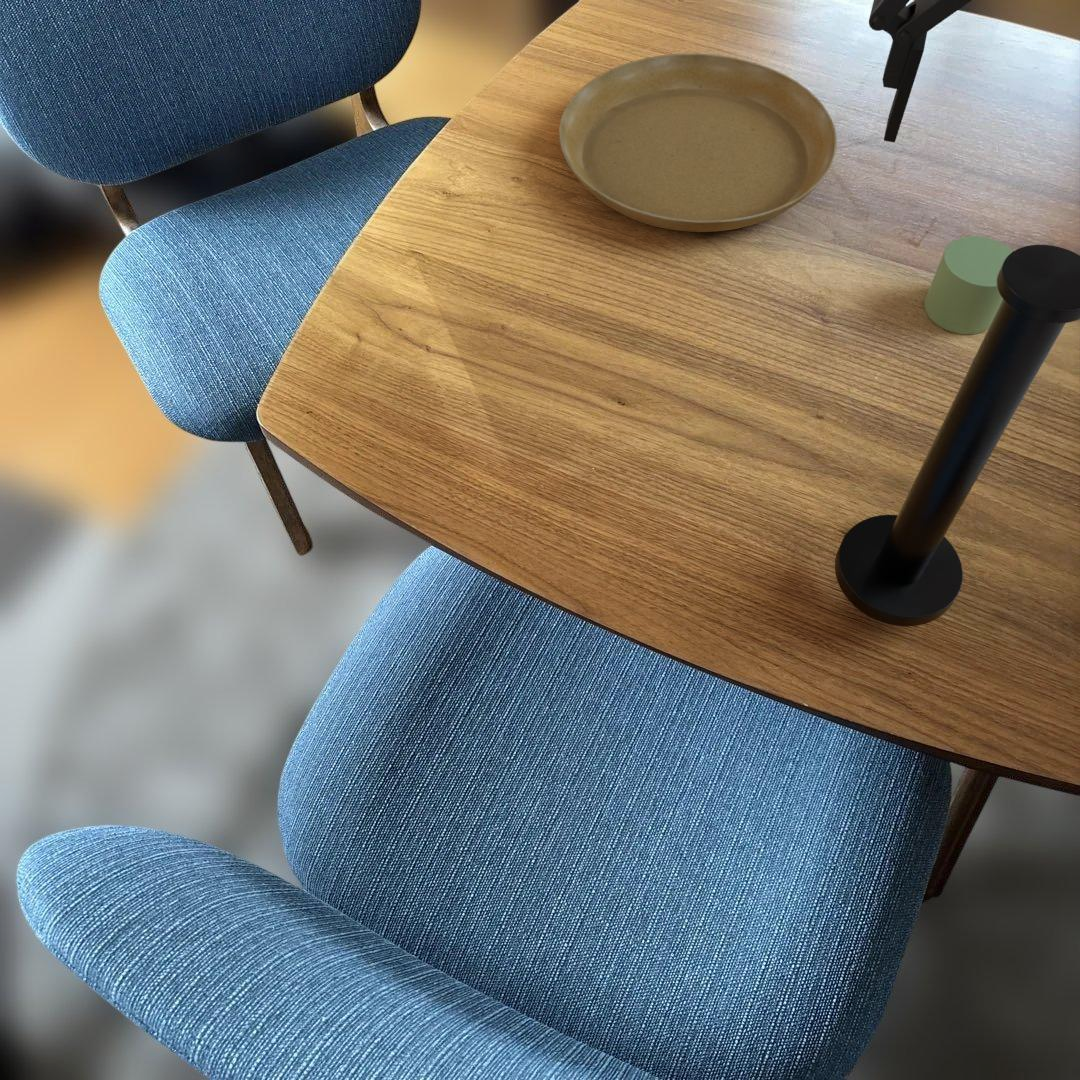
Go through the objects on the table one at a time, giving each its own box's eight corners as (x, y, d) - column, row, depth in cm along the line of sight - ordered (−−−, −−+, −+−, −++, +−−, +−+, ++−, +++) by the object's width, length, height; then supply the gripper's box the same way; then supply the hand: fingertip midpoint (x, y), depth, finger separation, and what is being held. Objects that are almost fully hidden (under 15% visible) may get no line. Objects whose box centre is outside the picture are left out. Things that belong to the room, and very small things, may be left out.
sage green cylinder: (1011, 322, 81) (1035, 274, 77) (951, 343, 80) (972, 294, 76) (968, 277, 84) (990, 228, 80) (910, 296, 83) (929, 247, 79)
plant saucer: (520, 117, 97) (519, 84, 94) (750, 60, 101) (755, 28, 98) (623, 283, 84) (625, 252, 81) (880, 211, 89) (890, 178, 86)
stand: (981, 601, 67) (1184, 309, 46) (877, 643, 66) (1035, 362, 44) (912, 509, 72) (1067, 201, 50) (812, 547, 70) (927, 245, 48)
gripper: (1415, -228, 51) (1192, 146, 68) (900, -281, 55) (816, 84, 73) (1439, -160, 47) (1196, 218, 65) (882, -222, 51) (798, 148, 69)
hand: (994, 148), depth 69 cm, fingers open, 13 cm apart
